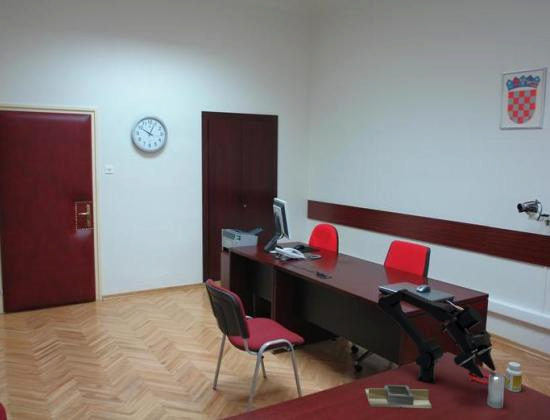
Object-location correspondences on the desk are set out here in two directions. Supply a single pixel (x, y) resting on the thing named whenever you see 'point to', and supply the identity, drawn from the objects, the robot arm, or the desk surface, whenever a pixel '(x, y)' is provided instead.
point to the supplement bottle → (513, 377)
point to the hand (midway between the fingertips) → (488, 374)
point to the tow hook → (476, 378)
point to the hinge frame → (398, 397)
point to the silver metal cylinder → (496, 390)
